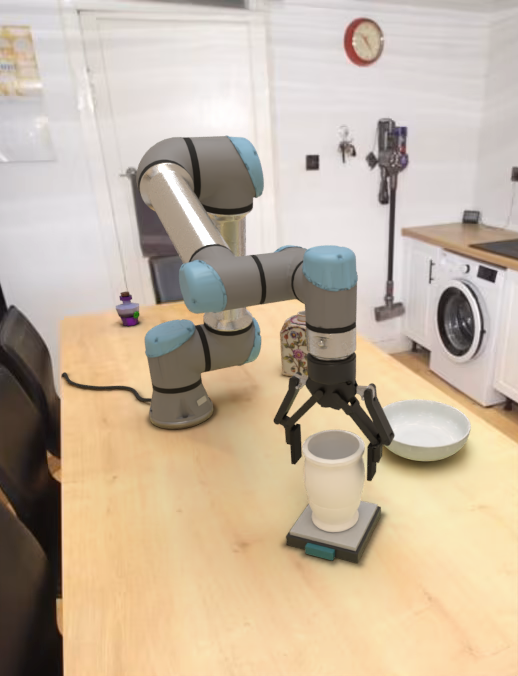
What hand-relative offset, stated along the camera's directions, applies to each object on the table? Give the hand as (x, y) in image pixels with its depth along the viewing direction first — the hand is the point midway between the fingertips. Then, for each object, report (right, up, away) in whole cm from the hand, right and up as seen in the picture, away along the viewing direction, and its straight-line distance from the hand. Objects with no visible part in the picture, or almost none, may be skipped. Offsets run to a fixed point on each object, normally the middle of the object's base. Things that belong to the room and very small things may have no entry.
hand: (333, 468), depth 91 cm
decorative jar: (-10, +18, +68) cm, 71 cm away
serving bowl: (+19, 0, +30) cm, 35 cm away
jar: (0, -9, +4) cm, 10 cm away
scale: (0, -12, +5) cm, 13 cm away
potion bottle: (-78, +36, +107) cm, 137 cm away
